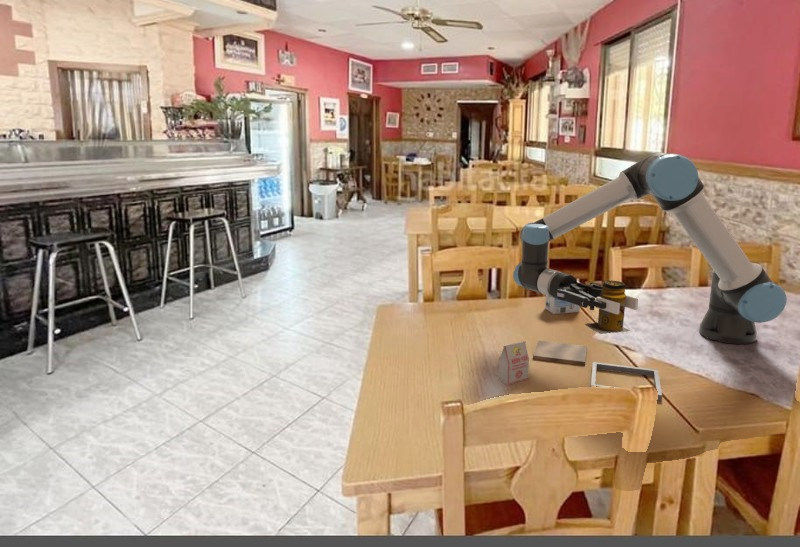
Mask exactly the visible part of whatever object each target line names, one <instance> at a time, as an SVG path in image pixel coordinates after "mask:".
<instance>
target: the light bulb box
mask: <svg viewBox="0 0 800 547" xmlns="http://www.w3.org/2000/svg"><path fill="white" fill-rule="evenodd" d="M577 282H579V281H578V280H577ZM544 309H545V310H547V311H548V312H550V313H552V315H557V314H568V313H579V312H580V311H581V306H578V305H576V304H573V303H570V302H567V301H562V300H559V299H556V298H554V297H548V295H545V305H544Z"/></svg>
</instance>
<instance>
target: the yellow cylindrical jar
mask: <svg viewBox="0 0 800 547" xmlns="http://www.w3.org/2000/svg"><path fill="white" fill-rule="evenodd" d="M602 286H603V288H602V292H601V294H600V297H601V298H604V299H607V300H610V301H614V302H617V303H620V310H619V314H614V313H611V312H608V311H605V310H602V309H599V308H598V317H597V322H591V323H588V322H587V323H584V325H585V326H586V327H587V328H589V329H591V330H592V331H593V332H596V333H597V334H600V335H604V334H612V333H614V334H615V333H624V332H630V331H631V330H630V329H628V328H626V327H624V322H625V321H624V320H625V309H626V307H625V301H626V296H627V295H626V293H625V292H626V284H625V283H624V282H623V281H620V280H619V281H618V280H605V281H604V282H603V283H602Z"/></svg>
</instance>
